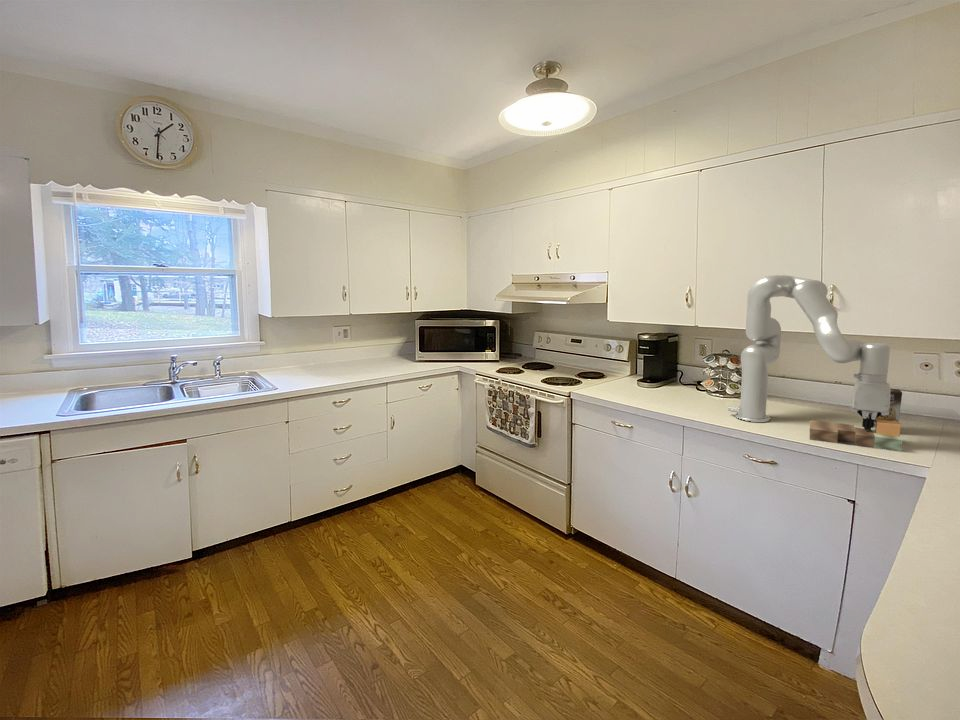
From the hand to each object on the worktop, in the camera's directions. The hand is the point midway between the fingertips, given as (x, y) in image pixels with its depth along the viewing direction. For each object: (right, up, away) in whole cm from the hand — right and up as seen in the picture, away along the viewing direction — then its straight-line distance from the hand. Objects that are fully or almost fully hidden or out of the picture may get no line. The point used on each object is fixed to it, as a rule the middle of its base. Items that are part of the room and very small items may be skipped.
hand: (867, 429), depth 165 cm
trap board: (-3, -4, +3) cm, 6 cm away
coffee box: (+15, -3, +12) cm, 20 cm away
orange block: (+4, -1, -3) cm, 5 cm away
